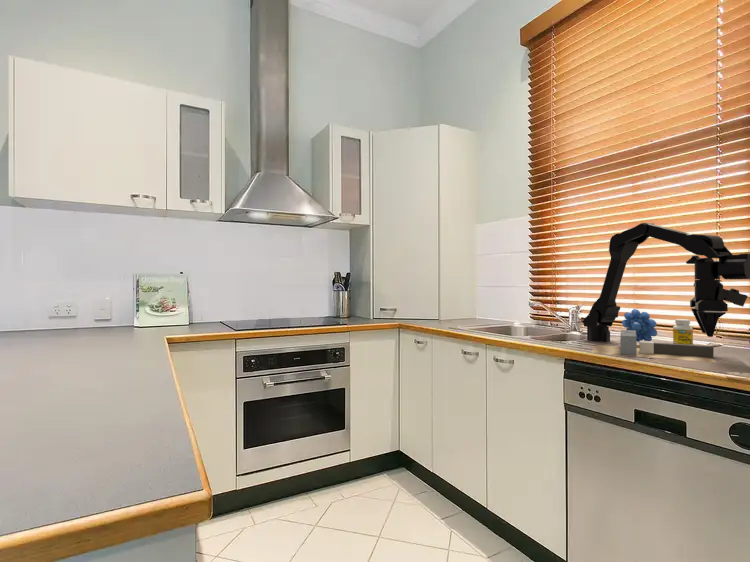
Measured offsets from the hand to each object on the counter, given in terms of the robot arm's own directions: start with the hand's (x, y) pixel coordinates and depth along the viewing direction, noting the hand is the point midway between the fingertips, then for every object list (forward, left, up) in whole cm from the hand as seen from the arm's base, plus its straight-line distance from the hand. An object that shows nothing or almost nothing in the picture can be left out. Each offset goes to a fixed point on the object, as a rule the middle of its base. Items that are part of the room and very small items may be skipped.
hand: (707, 334), depth 120 cm
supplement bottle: (-13, +19, -8) cm, 24 cm away
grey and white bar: (-7, -3, -6) cm, 10 cm away
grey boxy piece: (-18, -8, -6) cm, 20 cm away
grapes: (-28, +22, -8) cm, 36 cm away
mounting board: (-13, -5, -7) cm, 16 cm away
